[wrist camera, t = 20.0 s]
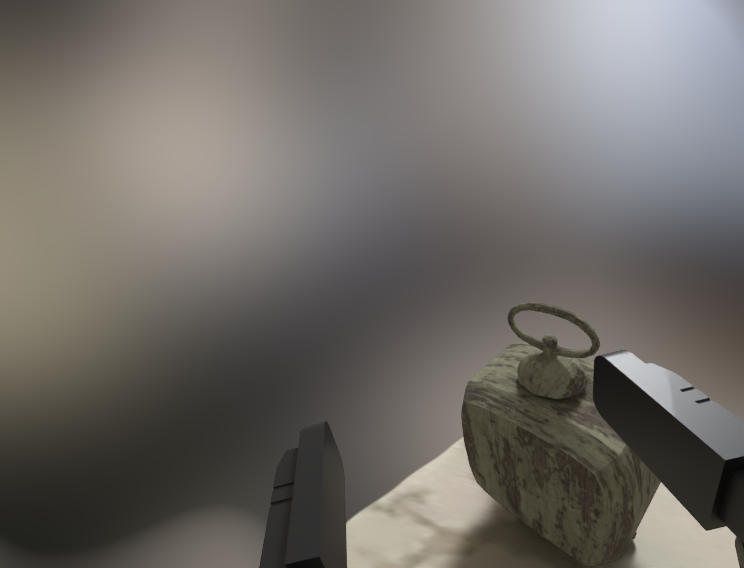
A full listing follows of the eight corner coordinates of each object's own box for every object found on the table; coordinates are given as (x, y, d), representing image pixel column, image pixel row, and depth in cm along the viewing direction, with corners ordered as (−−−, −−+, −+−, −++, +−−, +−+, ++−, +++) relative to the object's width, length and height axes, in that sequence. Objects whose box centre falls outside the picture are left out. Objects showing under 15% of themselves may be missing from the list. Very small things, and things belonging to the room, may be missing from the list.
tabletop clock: (656, 535, 33) (692, 303, 23) (615, 623, 29) (638, 381, 18) (513, 450, 44) (495, 268, 34) (468, 503, 40) (432, 311, 30)
